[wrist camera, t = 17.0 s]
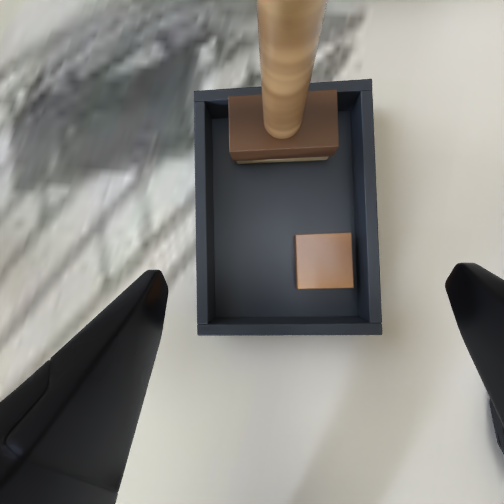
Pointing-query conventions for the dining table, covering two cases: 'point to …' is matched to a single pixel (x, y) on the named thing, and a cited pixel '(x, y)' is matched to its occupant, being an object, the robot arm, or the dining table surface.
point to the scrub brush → (285, 91)
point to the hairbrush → (497, 427)
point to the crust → (323, 261)
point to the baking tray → (284, 225)
